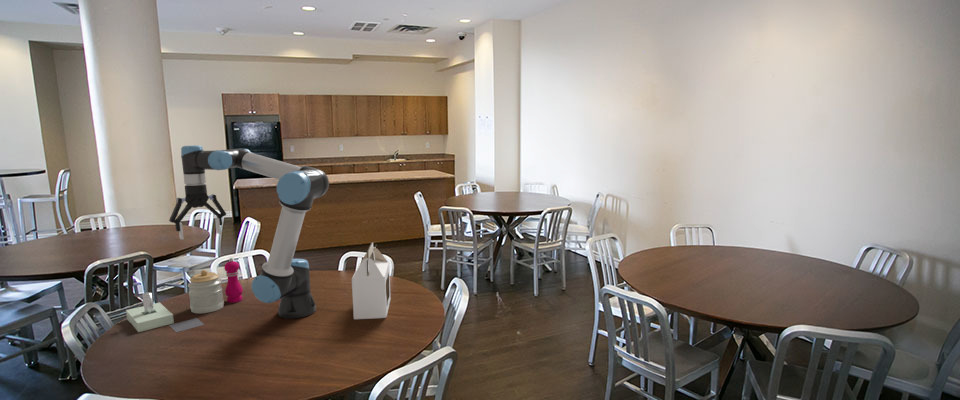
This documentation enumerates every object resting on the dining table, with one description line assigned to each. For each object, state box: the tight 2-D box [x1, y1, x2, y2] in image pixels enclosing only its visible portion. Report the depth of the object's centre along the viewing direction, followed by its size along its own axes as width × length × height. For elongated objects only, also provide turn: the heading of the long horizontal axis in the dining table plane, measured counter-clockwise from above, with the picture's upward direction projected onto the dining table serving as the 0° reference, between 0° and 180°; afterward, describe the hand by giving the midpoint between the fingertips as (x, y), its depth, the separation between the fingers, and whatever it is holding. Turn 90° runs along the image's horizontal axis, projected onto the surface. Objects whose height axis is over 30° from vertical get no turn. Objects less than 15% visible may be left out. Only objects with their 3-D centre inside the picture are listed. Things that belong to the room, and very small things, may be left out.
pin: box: [141, 291, 154, 315], centre depth 200 cm, size 3×3×12 cm
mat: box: [168, 317, 205, 333], centre depth 196 cm, size 10×10×1 cm
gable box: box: [351, 242, 391, 320], centre depth 209 cm, size 22×13×28 cm, turn 6°
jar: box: [187, 269, 225, 314], centre depth 213 cm, size 13×13×18 cm
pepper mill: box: [223, 257, 244, 304], centre depth 222 cm, size 7×7×20 cm
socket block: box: [125, 302, 175, 333], centre depth 200 cm, size 20×12×4 cm, turn 46°
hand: (200, 236), depth 199 cm, fingers open, 13 cm apart
